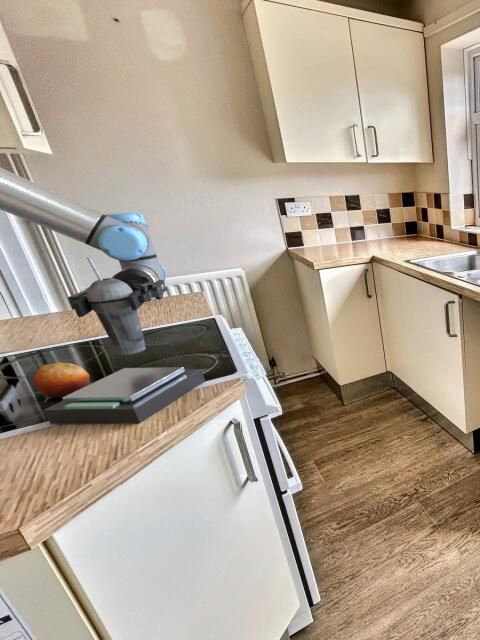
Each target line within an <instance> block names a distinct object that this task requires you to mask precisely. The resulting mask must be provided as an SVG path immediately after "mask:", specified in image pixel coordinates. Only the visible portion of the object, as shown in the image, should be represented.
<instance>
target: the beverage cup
mask: <svg viewBox="0 0 480 640" xmlns="http://www.w3.org/2000/svg"><path fill="white" fill-rule="evenodd" d="M86 259H87V261H88V263H89V265H90V267H91V269H92V271H93V273H94V274H95V276H96V277H97V280H95V281H93V282H92V283H91V284H90V285H89V286H88V287H89V288H88V287H87V288H88V291H87V299H88V303H89V304H90V306H91V308H92V309H93V310H92V311H93V312H94V313H95V314H96V316H97V318H98V320H99V322H100V324H101V325H102V327H103V330H104V331H105V333H106V335H107V336H108V339H109V340H110V342H111V344H112V347H113V348H114V349H115V350H116V352H117V354H118V356H129V355H135V354H138V353H141V352H143V351H145V350H146V349H147V348H146V344H145V337H144V334H143V333H144V332H143V330H142V326H141V321H140V318H139V312H138V309H137V310H132V309H131V306H130V303H129V301H128V298H127V297H128V296H129V295H130V294H132V293H133V291H132V289H131V288H130V287H129V286H128V285H127V284H126V283H124V282H123V281H120V280H117V279H113V278H112V277H105V278H102V277H101V275H100V273H99V271H98V269H97V267H96V265H95V264H94V262H93V260H92V258H91V256H87V257H86Z"/></svg>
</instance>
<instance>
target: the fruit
mask: <svg viewBox="0 0 480 640" xmlns="http://www.w3.org/2000/svg"><path fill="white" fill-rule="evenodd" d="M32 382H33V386H34V388H36V389H37V390H38V391H39V393H40V394H41V395H42V396H43V397H44V398H45V400H43V402H44V403H45V404H46V403H47V401H49V400H50V399H55V398H63V397H65V396H67V395H69V394H71V393H73V392H75V391H77V390H80V389H82V388H84V387H86V386H88V385H89V382H90V373H89V372H87V370H85V369H84V368H83V367H82V366H80V365H78V364H75V363H71V362H61V361H60V362H54V363H49V364H48V363H47V364H43V365H42V366H40V368H38V369H37V370H36V371H35V373H34V375H33V381H32Z"/></svg>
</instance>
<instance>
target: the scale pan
mask: <svg viewBox="0 0 480 640" xmlns="http://www.w3.org/2000/svg"><path fill="white" fill-rule="evenodd" d="M184 369H185V367H183V366H174V367H171V366H169V367H124V368H121V369H119V370H117V371H115V372H113V373H111V374H108V375H107V376H105V377H103V378H100V379H99V380H97V381H94V382H92V383H90V384H87V385H86V387H84V388H82V389H80V390H77V391H75V392H73V393H71V394H69V395H67V396H65V397H61V399H62V401H64V402H132V401H134V400H136V399H137V398H139V397H141V396H143V395H144V394H146V393H148V392H150V391H151V390H153V389H155V388H157V387H158V386H160V385H162V384H164V383H165V382H167V381H169V380H171V379H172V378H174V377H176V376H178V375H179V374H181V373H183V372H185V370H184Z"/></svg>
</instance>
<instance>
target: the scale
mask: <svg viewBox="0 0 480 640" xmlns="http://www.w3.org/2000/svg"><path fill="white" fill-rule="evenodd" d="M184 370H185V372H183V373H181V374H179V375H178V376H176V377H174V378H172V379H171V380H169V381H167V382H165V383H164V384H162V385H160V386H158V387H157V388H155V389H153V390H151V391H150V392H148V393H146V394H144V395H143V396H141V397H139V398H137V399H136V400H134V401H132V402H64V401H63V400H61V401H59V402H58V403H55V404H53V405H51V406H49V407H47V408H45V409H43V413H44V415H45V417H46V419H47V421H48V423H49V425H103V424H104V425H105V424H106V425H107V424H108V425H109V424H110V425H112V424H117V425H118V424H141V423H142V422H144V421H146V420H147V419H148V418H150V417H152V416H153V415H156V413H158V412H160V411H161V410H163V409H164V408H166V407H168V406H169V405H171V404H172V403H174V402H175V401H177V400H178V399H180V398H182V397H183V396H185V395H186V394H188V393H190V392H191V391H193V390H194V389H195V387H196V388H197V387H199V386H201V385H202V384H204V383H205V382H206V379H205V376H204V373H203V370H202V368H184ZM187 392H188V393H187ZM185 393H186V394H185ZM184 394H185V395H184Z"/></svg>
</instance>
